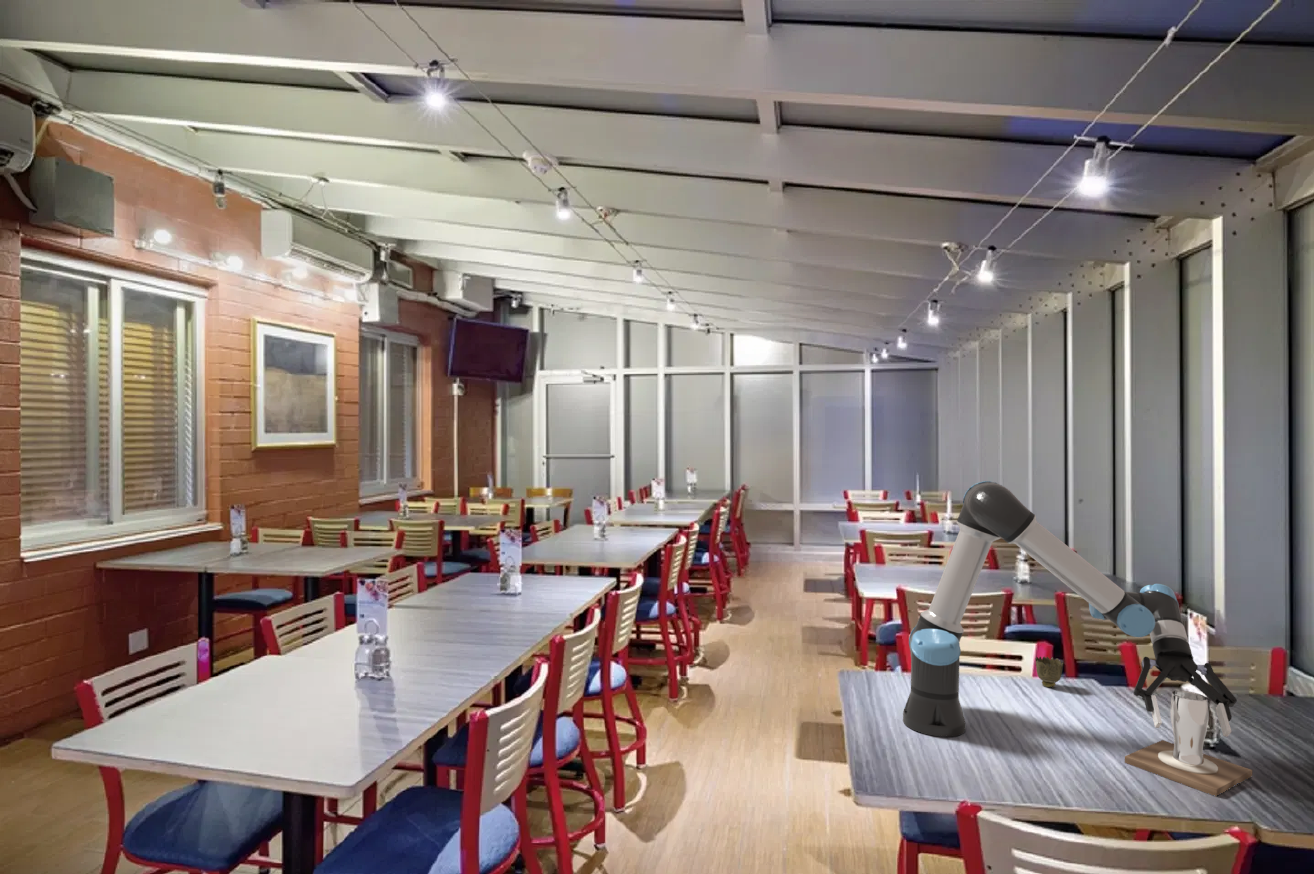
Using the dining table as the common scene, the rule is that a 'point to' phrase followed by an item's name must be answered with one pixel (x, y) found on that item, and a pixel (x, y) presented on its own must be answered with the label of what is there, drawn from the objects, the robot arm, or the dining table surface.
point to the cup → (1049, 670)
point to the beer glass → (1189, 727)
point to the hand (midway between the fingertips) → (1192, 729)
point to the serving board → (1189, 769)
